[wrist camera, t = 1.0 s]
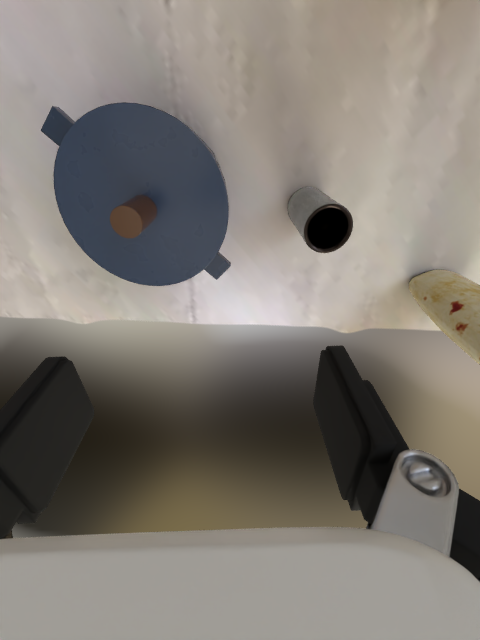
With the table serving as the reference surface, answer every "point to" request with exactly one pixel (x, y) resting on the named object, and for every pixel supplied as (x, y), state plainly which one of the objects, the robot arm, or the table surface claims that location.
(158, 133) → the lid
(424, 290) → the food model
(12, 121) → the table surface
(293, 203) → the grey tube
